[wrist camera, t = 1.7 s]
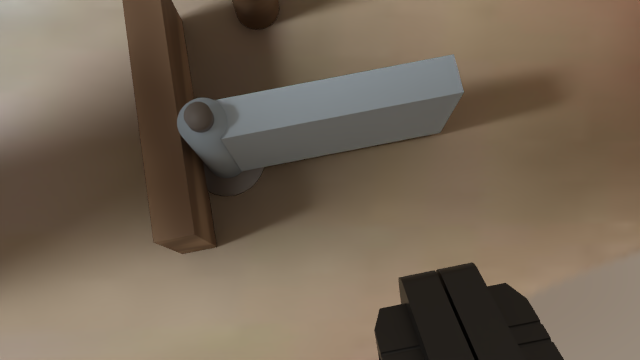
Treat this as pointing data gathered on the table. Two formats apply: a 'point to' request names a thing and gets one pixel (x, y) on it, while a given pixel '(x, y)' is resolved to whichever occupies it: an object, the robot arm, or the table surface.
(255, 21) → the stop post
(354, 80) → the grey pivot lever
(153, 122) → the frame rail
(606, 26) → the table surface
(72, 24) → the table surface
